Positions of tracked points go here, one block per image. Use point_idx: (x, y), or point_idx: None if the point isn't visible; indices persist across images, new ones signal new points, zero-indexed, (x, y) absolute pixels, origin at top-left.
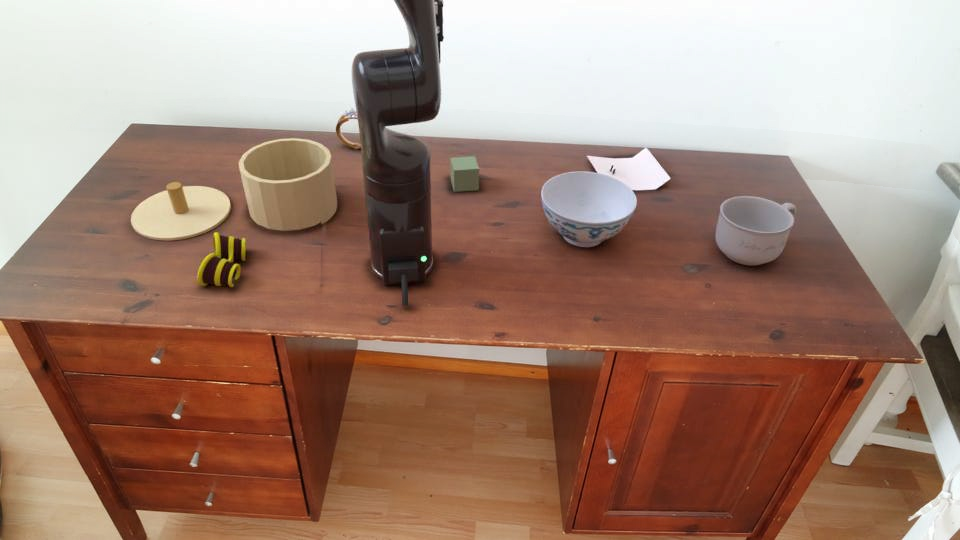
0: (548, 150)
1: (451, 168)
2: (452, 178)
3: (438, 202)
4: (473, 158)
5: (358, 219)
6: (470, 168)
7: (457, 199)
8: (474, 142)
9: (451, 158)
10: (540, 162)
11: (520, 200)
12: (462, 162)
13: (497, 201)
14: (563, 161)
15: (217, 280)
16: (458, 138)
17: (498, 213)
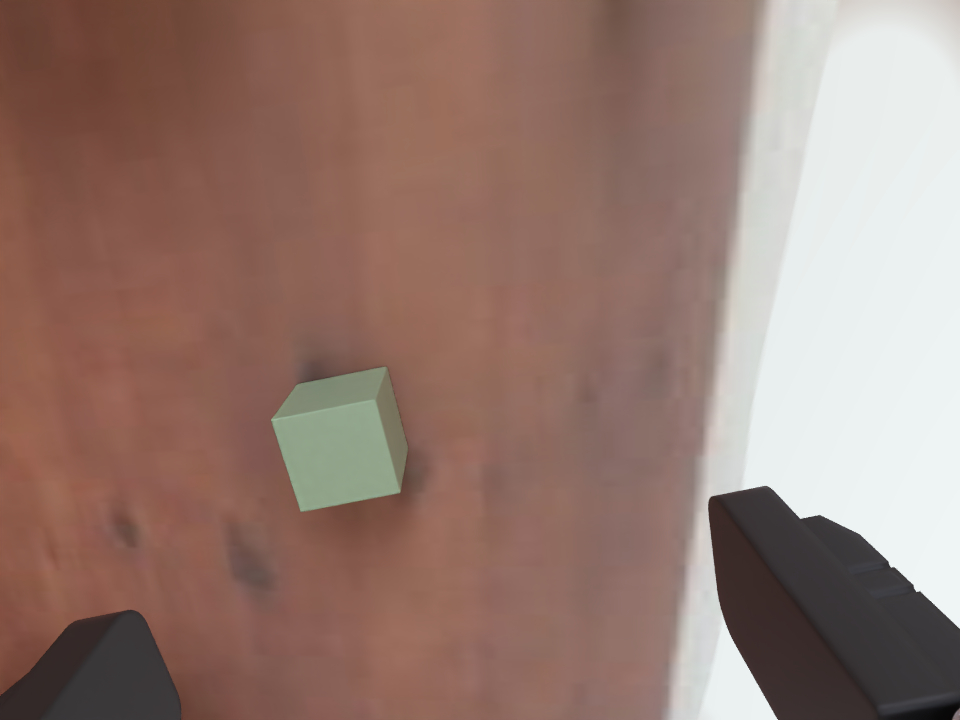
0: (618, 674)
1: (350, 392)
2: (326, 388)
3: (217, 334)
4: (378, 488)
5: (26, 27)
6: (296, 480)
7: (250, 398)
8: (679, 436)
9: (367, 403)
10: (534, 650)
11: (281, 592)
12: (339, 448)
13: (262, 526)
14: (545, 713)
15: None
16: (714, 374)
17: (189, 530)
